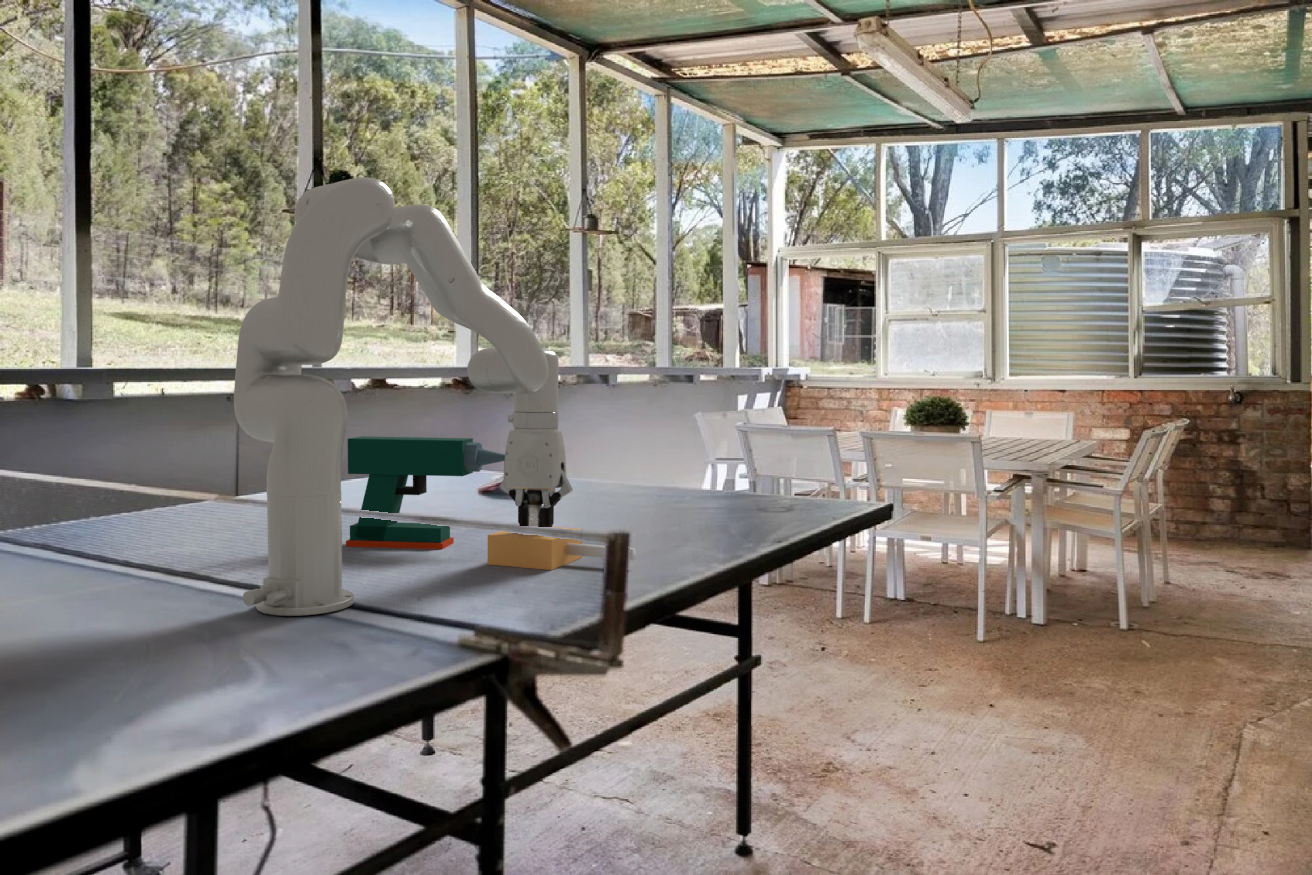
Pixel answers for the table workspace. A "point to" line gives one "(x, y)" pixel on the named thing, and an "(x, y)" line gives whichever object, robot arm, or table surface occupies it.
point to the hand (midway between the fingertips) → (535, 528)
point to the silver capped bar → (534, 507)
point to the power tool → (388, 485)
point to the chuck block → (539, 550)
